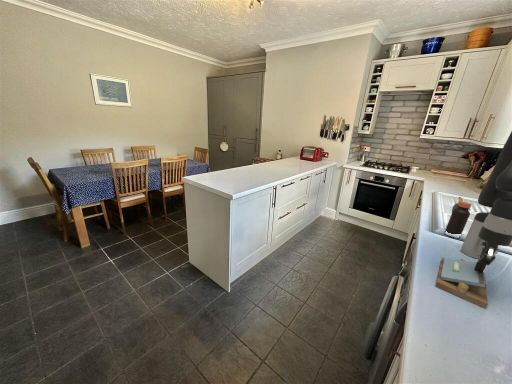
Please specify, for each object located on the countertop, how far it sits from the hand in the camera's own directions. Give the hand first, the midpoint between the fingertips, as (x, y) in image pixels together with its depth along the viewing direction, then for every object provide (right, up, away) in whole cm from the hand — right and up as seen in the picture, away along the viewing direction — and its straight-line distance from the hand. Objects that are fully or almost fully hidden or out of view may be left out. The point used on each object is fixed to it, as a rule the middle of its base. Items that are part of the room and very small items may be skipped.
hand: (478, 270), depth 76 cm
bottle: (+29, +4, +41) cm, 51 cm away
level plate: (-2, -2, +3) cm, 4 cm away
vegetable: (+37, +7, +51) cm, 63 cm away
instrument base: (-3, -6, +4) cm, 8 cm away
